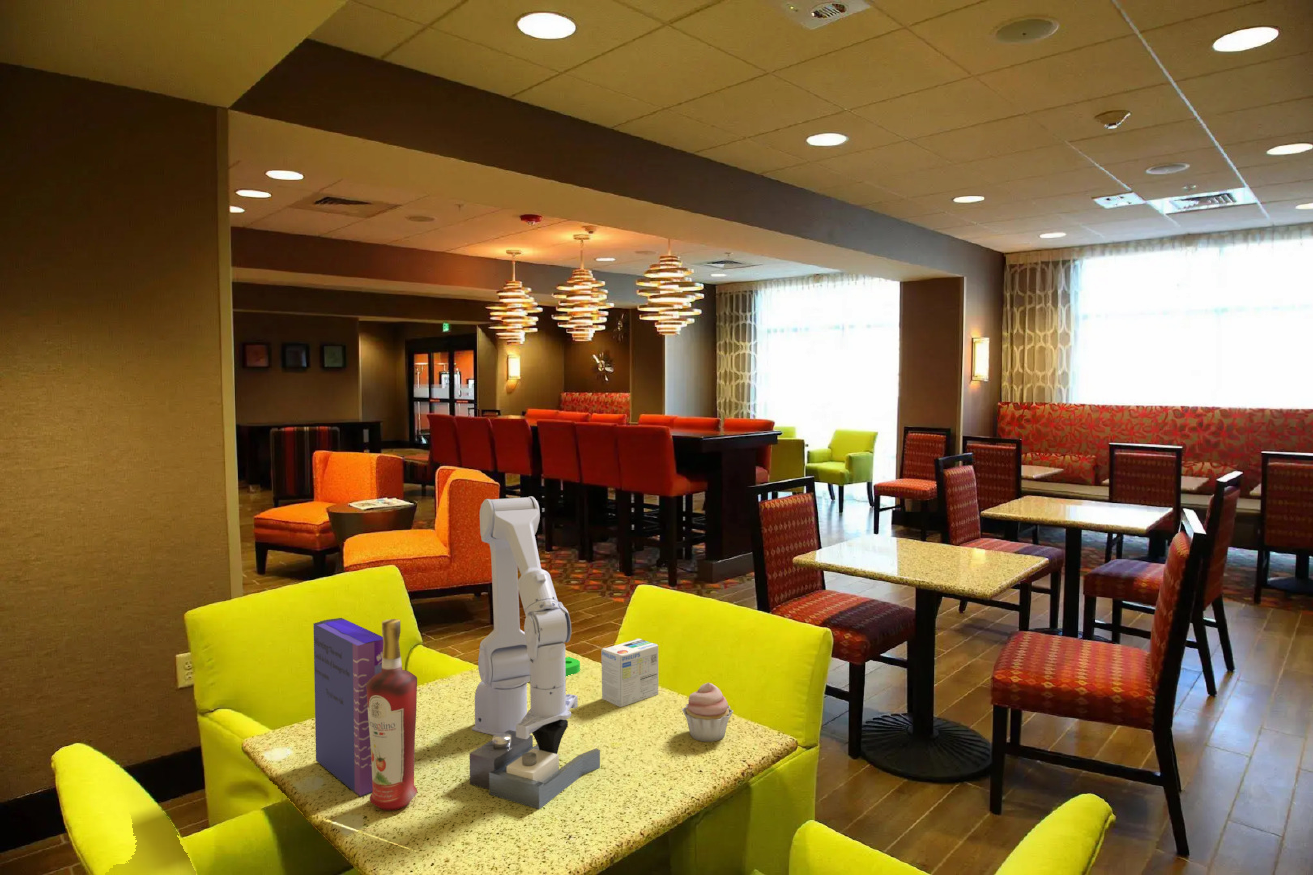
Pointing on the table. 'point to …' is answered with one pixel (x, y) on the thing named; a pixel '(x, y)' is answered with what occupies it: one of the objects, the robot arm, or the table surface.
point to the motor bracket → (493, 775)
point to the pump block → (535, 765)
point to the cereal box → (345, 699)
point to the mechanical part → (572, 666)
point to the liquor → (392, 725)
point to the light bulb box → (629, 672)
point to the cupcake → (707, 713)
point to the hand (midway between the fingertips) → (548, 765)
